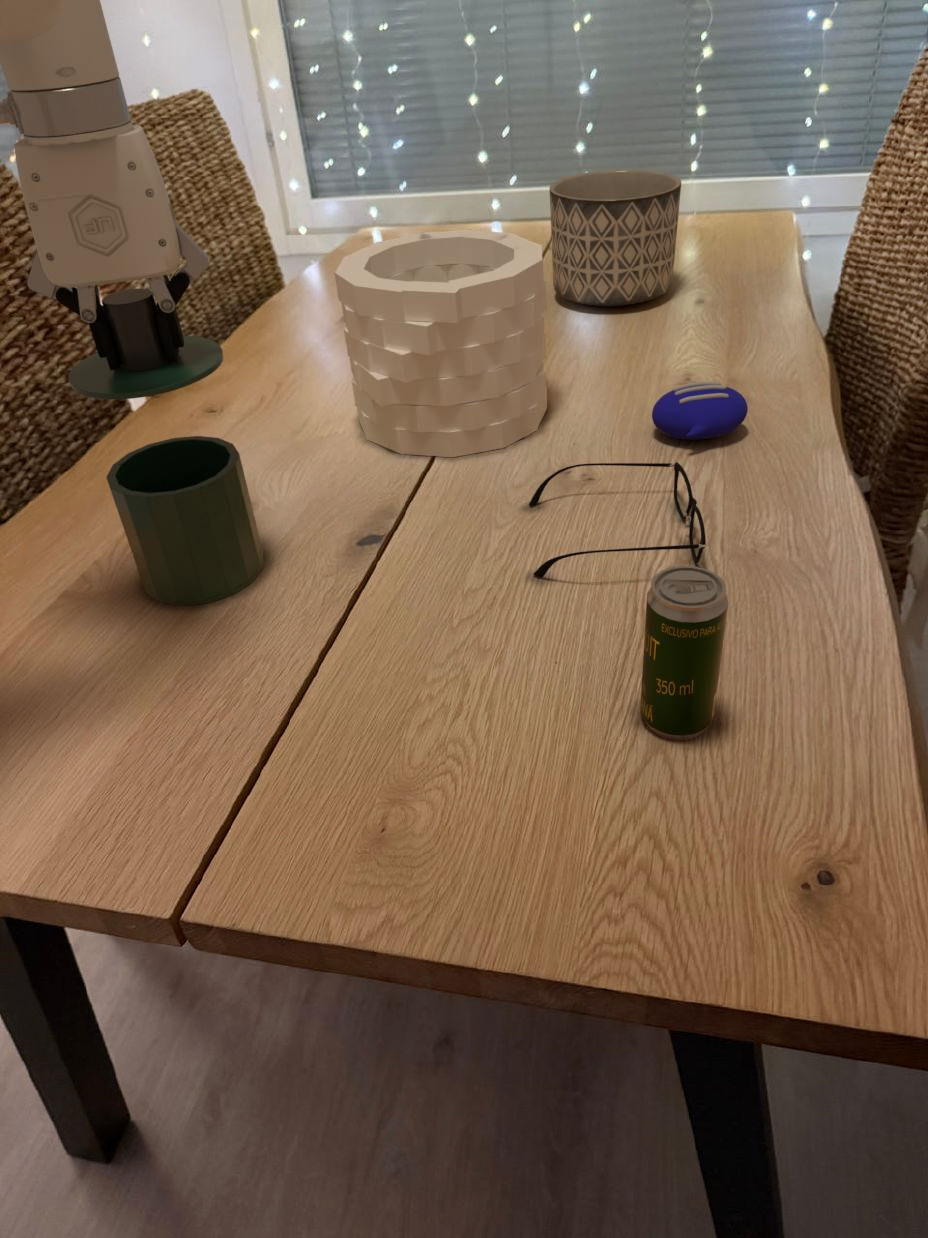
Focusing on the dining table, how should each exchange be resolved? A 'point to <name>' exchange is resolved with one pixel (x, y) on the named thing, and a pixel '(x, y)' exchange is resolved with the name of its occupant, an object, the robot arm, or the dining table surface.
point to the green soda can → (682, 651)
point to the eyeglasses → (692, 503)
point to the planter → (614, 235)
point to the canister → (188, 519)
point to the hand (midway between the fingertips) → (145, 357)
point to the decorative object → (699, 411)
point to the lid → (142, 354)
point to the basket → (446, 340)
